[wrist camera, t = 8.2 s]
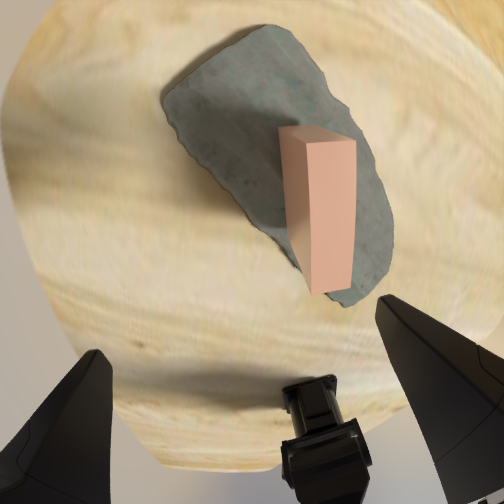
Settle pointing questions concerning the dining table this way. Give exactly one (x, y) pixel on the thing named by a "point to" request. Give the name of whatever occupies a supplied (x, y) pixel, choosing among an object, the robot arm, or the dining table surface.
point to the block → (320, 203)
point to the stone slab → (276, 141)
